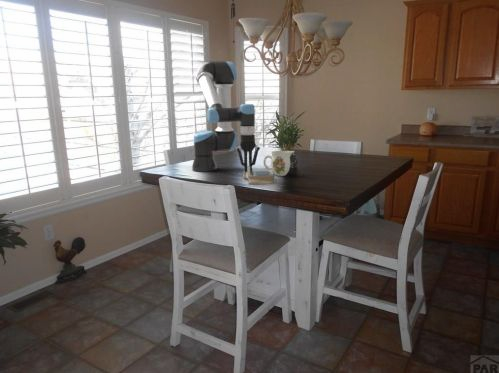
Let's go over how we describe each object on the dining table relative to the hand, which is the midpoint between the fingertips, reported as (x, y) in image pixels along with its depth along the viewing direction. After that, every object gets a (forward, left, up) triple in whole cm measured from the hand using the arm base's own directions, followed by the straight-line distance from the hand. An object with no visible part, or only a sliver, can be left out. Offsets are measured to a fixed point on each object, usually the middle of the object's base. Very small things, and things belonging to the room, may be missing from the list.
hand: (248, 177), depth 214 cm
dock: (0, +5, -2) cm, 5 cm away
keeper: (0, +7, -2) cm, 7 cm away
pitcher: (-12, +21, -2) cm, 24 cm away
